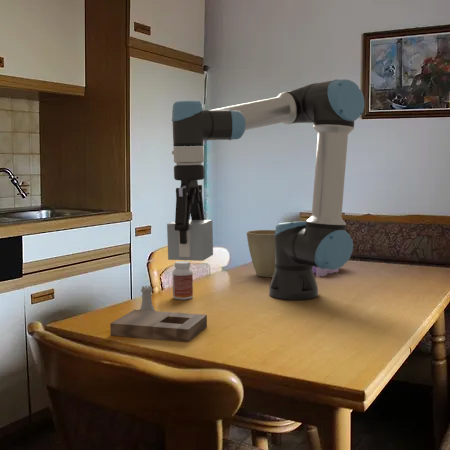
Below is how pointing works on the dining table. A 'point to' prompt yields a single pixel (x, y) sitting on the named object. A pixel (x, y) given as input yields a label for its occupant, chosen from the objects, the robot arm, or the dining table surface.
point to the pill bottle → (182, 281)
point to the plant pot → (262, 251)
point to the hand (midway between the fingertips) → (191, 253)
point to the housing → (192, 240)
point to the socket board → (159, 325)
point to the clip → (323, 271)
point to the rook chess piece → (146, 299)
